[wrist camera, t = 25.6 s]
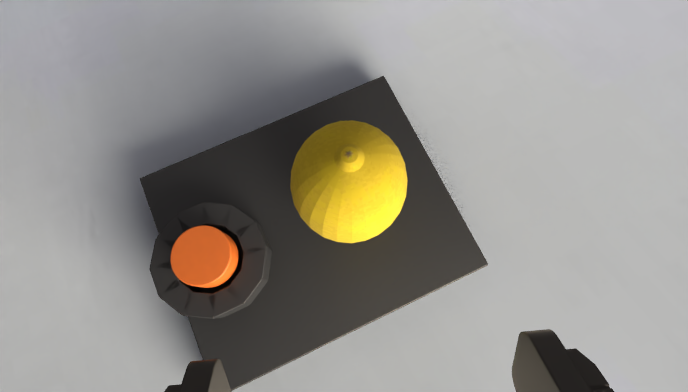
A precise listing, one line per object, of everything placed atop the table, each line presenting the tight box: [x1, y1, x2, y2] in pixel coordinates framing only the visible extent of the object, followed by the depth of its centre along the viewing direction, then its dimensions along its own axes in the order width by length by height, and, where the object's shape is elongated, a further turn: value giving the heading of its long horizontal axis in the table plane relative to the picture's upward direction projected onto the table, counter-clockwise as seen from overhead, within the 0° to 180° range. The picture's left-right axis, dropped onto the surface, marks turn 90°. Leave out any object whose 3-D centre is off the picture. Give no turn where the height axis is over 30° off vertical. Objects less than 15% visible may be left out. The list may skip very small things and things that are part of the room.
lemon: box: [290, 120, 408, 243], centre depth 20 cm, size 6×6×8 cm
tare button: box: [170, 225, 239, 288], centre depth 21 cm, size 3×3×2 cm
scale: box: [140, 76, 488, 391], centre depth 23 cm, size 16×13×4 cm
